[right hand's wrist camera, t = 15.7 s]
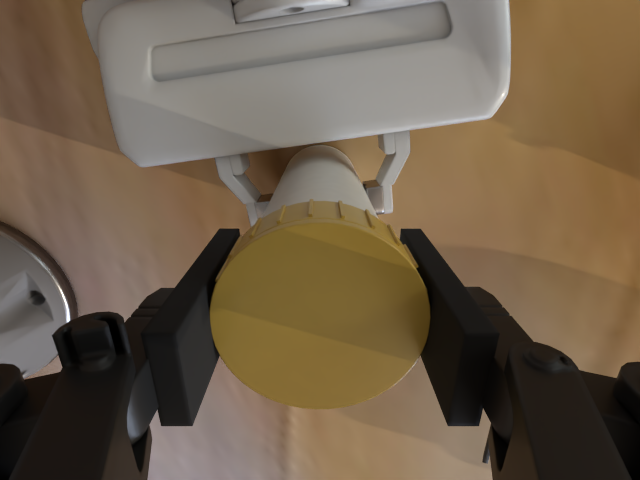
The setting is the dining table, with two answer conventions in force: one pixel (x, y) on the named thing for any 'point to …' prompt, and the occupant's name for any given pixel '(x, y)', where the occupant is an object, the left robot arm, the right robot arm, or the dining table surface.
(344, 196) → the jar
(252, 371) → the lid
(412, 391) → the dining table surface
